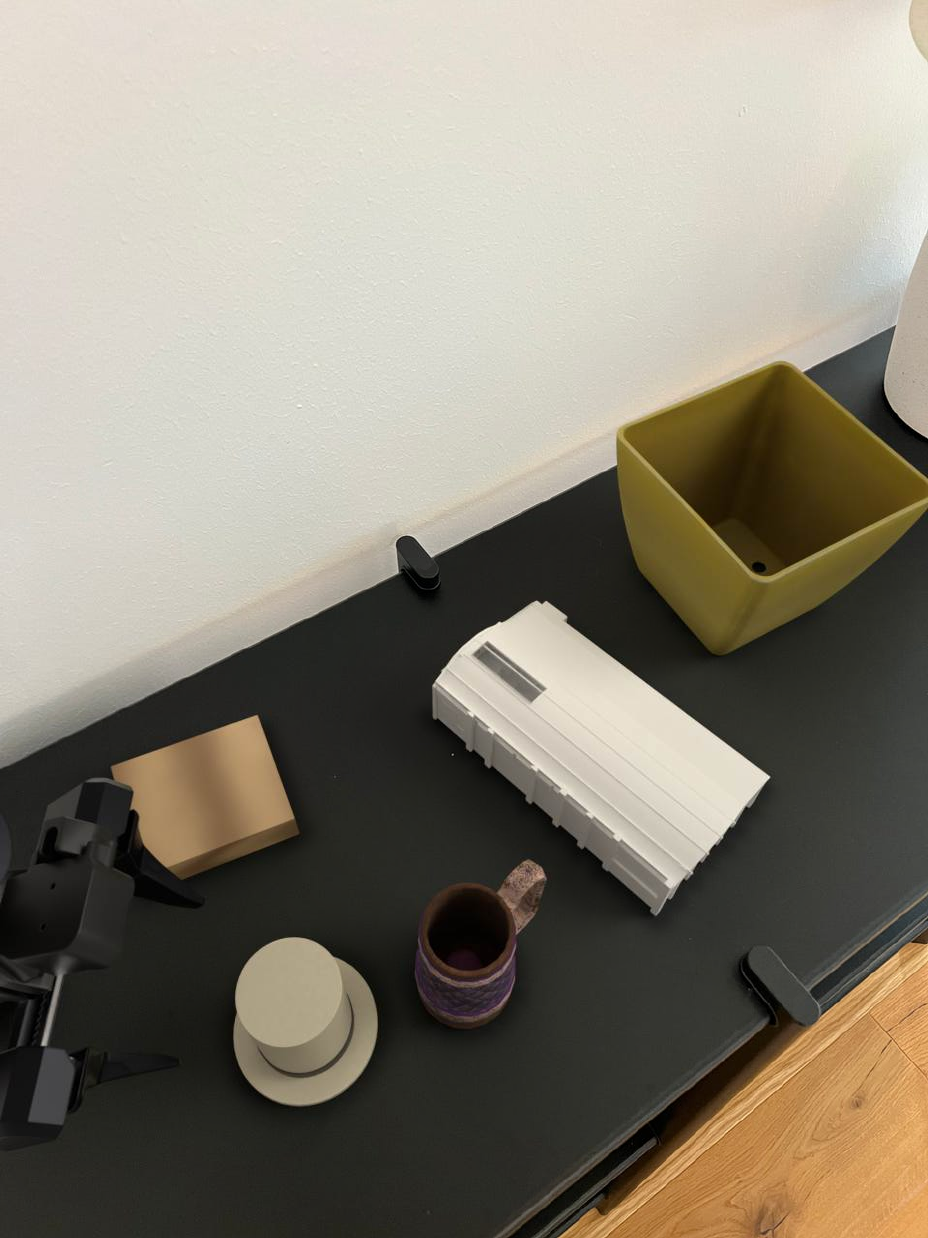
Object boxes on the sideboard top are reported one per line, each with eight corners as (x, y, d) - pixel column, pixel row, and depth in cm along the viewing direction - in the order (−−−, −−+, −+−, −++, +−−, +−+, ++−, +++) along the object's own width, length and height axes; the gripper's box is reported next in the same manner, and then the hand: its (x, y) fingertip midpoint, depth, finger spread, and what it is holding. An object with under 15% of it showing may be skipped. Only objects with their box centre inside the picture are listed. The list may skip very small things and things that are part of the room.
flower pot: (709, 703, 83) (761, 584, 69) (586, 556, 93) (611, 427, 79) (868, 617, 89) (945, 492, 75) (737, 487, 98) (784, 356, 85)
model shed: (769, 794, 78) (794, 754, 72) (660, 921, 72) (679, 888, 66) (541, 620, 88) (548, 573, 82) (428, 717, 82) (427, 674, 76)
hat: (258, 1133, 63) (232, 1108, 55) (218, 989, 68) (189, 948, 60) (399, 1067, 65) (393, 1035, 58) (349, 934, 71) (338, 887, 63)
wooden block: (148, 893, 72) (138, 878, 70) (120, 783, 78) (110, 766, 75) (299, 834, 75) (294, 818, 73) (263, 732, 81) (257, 714, 78)
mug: (457, 1054, 66) (460, 1009, 56) (395, 972, 69) (388, 917, 59) (565, 959, 70) (584, 902, 60) (501, 886, 73) (511, 821, 63)
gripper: (-76, 1105, 38) (250, 1141, 47) (41, 701, 49) (287, 794, 58) (-172, 1137, 44) (132, 1163, 53) (-49, 772, 55) (186, 846, 64)
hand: (189, 980), depth 57 cm, fingers open, 9 cm apart
